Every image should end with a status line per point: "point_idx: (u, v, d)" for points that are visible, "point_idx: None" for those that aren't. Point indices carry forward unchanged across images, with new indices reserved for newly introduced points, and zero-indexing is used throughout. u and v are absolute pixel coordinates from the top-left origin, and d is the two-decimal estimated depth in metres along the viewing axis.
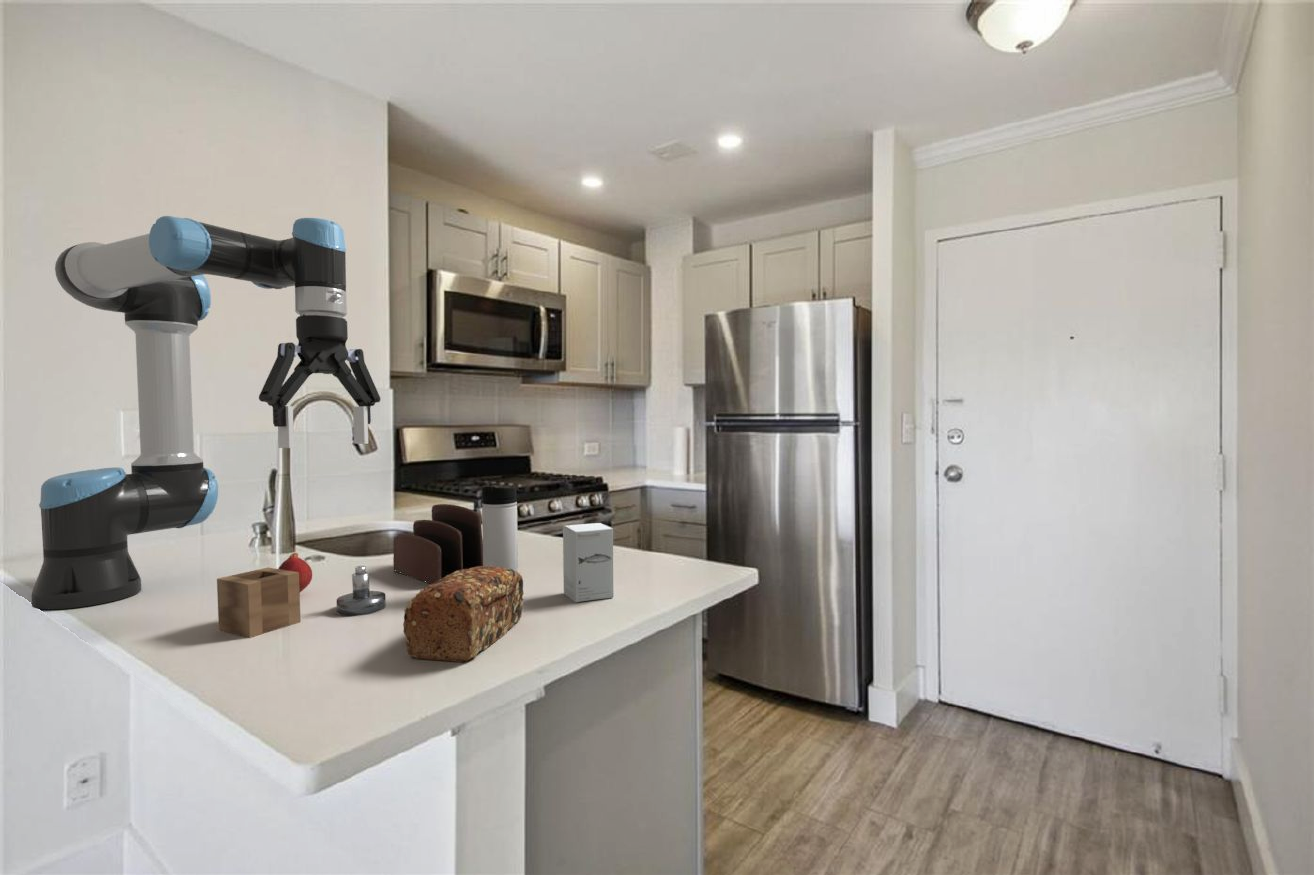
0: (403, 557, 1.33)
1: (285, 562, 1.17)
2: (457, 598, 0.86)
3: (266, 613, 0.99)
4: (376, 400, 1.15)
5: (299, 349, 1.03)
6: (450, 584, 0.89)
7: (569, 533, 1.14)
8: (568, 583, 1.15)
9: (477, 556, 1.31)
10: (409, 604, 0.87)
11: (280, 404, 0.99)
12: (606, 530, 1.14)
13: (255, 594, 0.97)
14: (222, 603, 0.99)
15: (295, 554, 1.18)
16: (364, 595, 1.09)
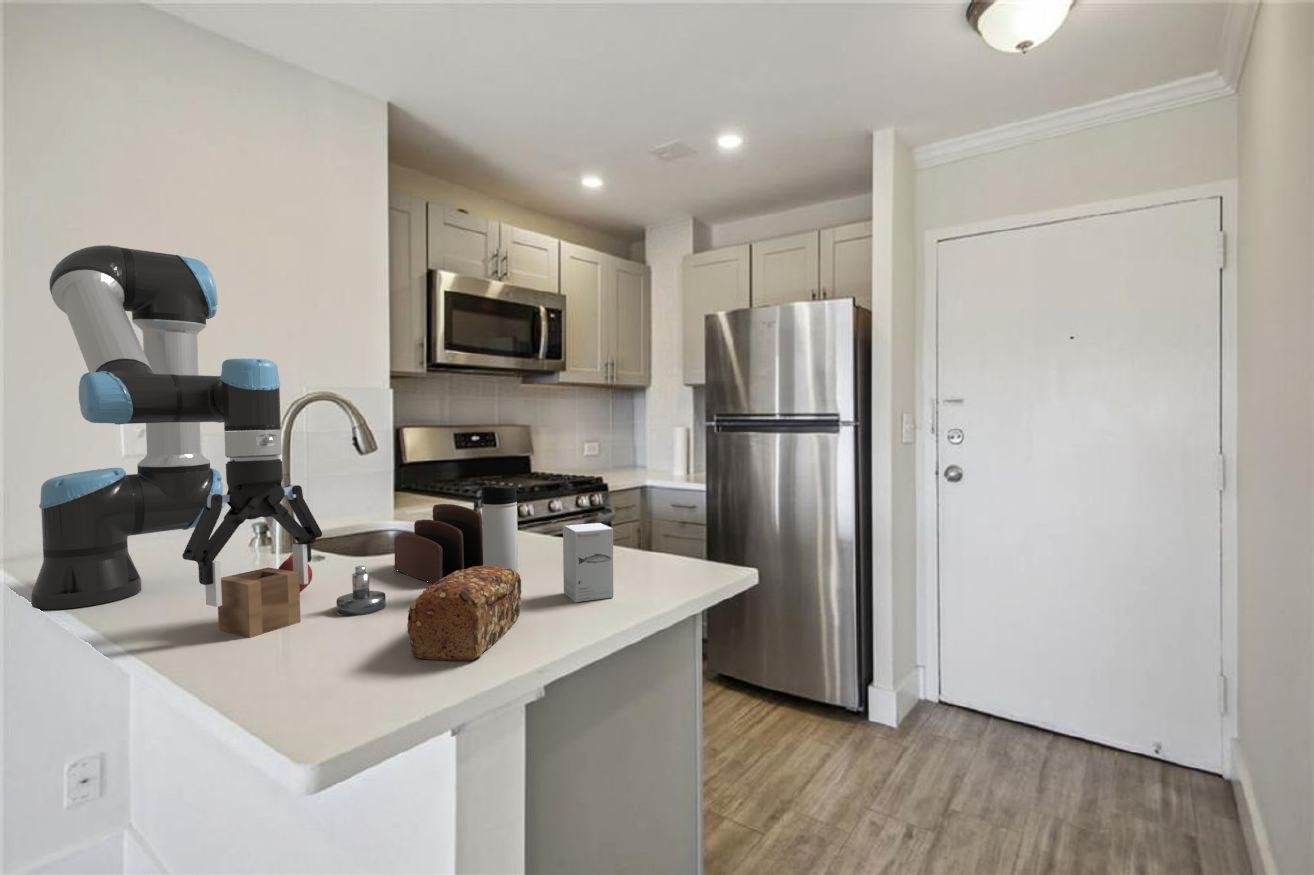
0: (405, 557, 1.34)
1: (285, 562, 1.17)
2: (463, 597, 0.86)
3: (266, 613, 0.99)
4: (317, 535, 1.09)
5: (228, 498, 0.97)
6: (454, 584, 0.89)
7: (569, 533, 1.14)
8: (568, 583, 1.15)
9: (478, 556, 1.31)
10: (413, 605, 0.87)
11: (206, 562, 0.94)
12: (606, 530, 1.14)
13: (255, 594, 0.97)
14: (222, 603, 0.99)
15: None
16: (364, 595, 1.09)
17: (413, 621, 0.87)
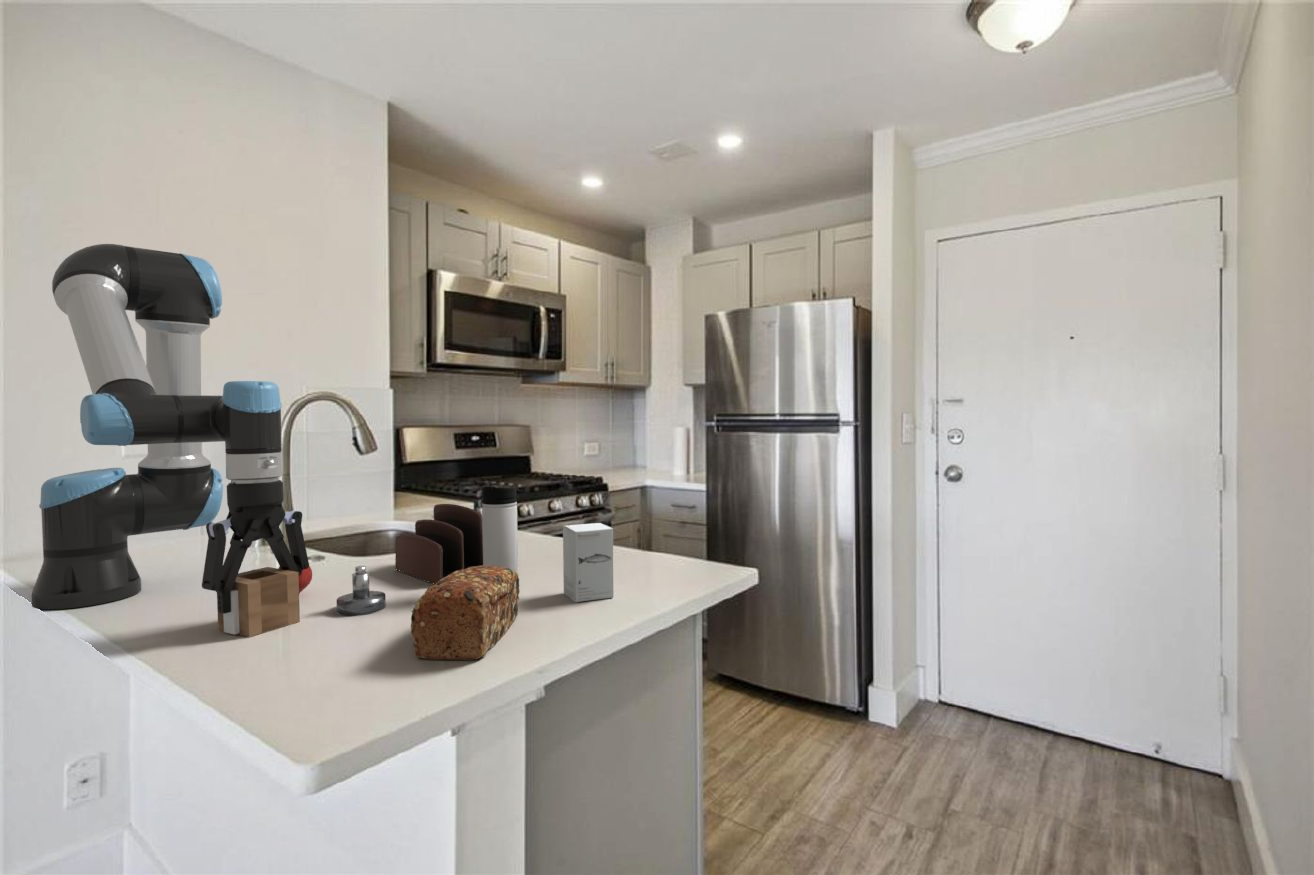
0: (405, 557, 1.34)
1: None
2: (468, 597, 0.86)
3: (265, 613, 0.99)
4: (303, 567, 1.07)
5: (229, 523, 0.97)
6: (457, 584, 0.89)
7: (569, 533, 1.14)
8: (568, 583, 1.15)
9: (478, 555, 1.31)
10: (417, 605, 0.87)
11: (225, 591, 0.96)
12: (606, 530, 1.14)
13: (254, 594, 0.97)
14: None
15: None
16: (364, 595, 1.09)
17: (417, 621, 0.86)
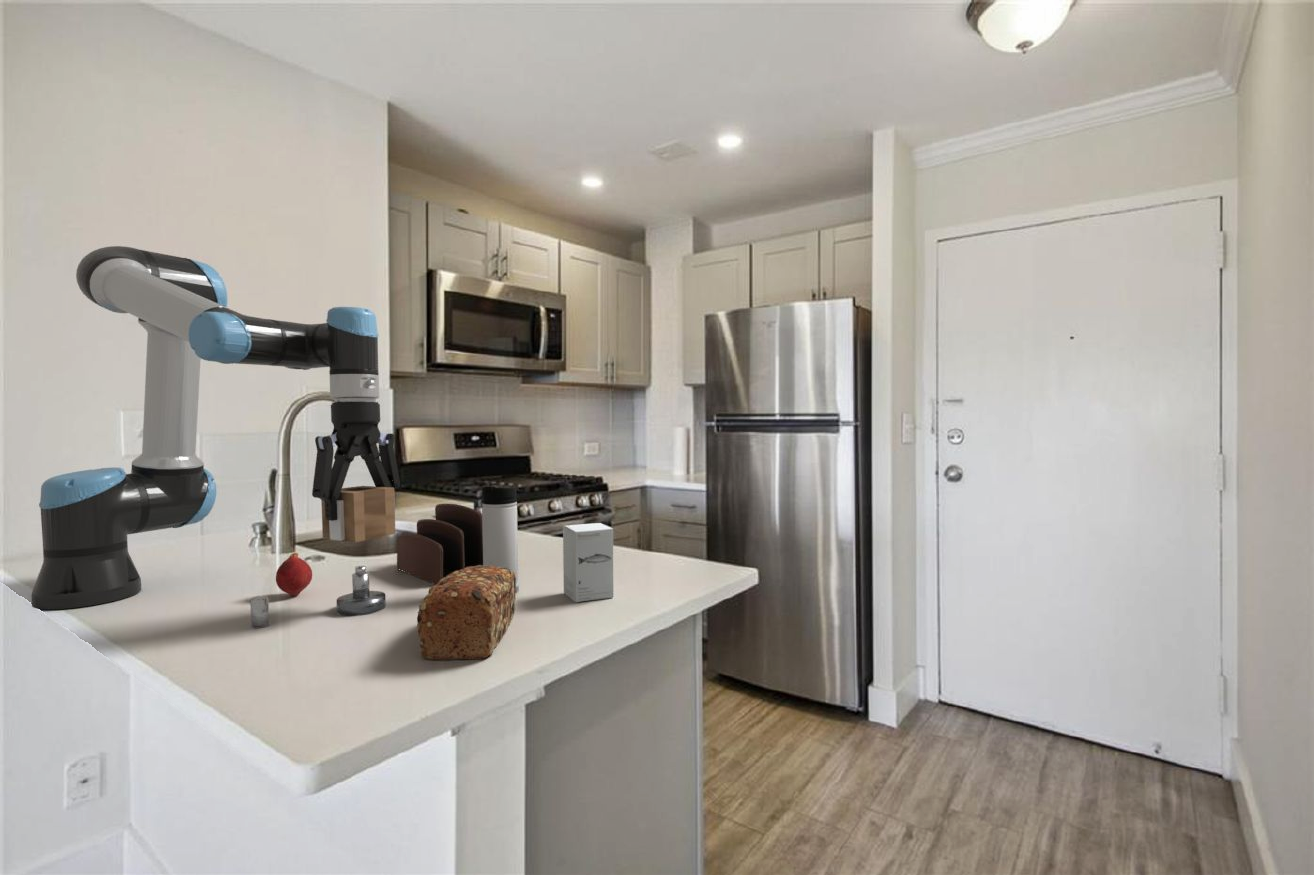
0: (407, 556, 1.34)
1: (285, 562, 1.17)
2: (476, 596, 0.86)
3: (367, 521, 1.07)
4: (396, 486, 1.15)
5: (335, 438, 1.05)
6: (463, 583, 0.89)
7: (569, 533, 1.14)
8: (568, 583, 1.15)
9: (479, 555, 1.31)
10: (423, 605, 0.86)
11: (333, 500, 1.04)
12: (606, 530, 1.14)
13: (359, 503, 1.05)
14: None
15: (295, 554, 1.18)
16: (364, 595, 1.09)
17: (423, 622, 0.86)
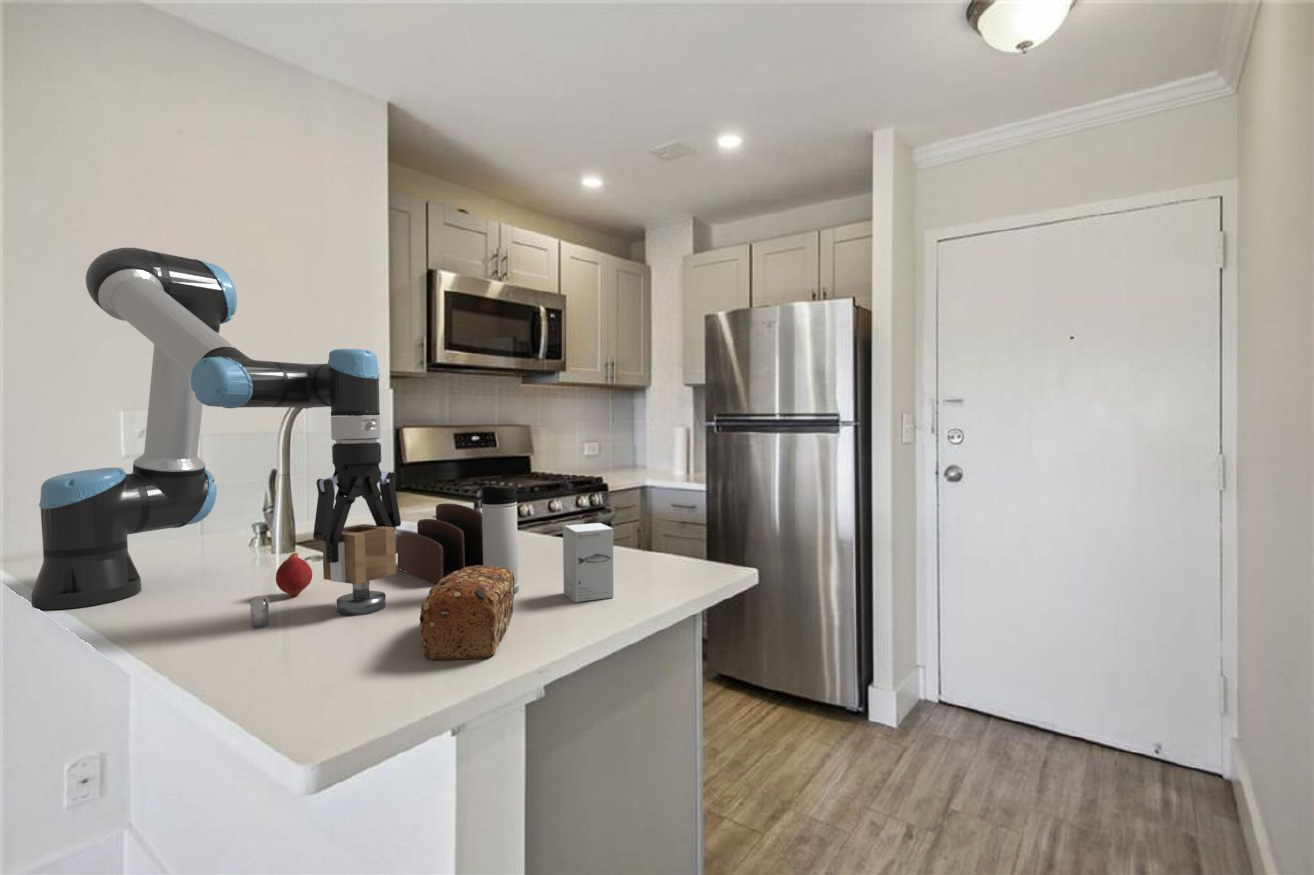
0: (407, 556, 1.35)
1: (285, 562, 1.17)
2: (480, 595, 0.87)
3: (368, 563, 1.07)
4: (396, 524, 1.15)
5: (336, 480, 1.05)
6: (465, 583, 0.89)
7: (569, 533, 1.14)
8: (568, 583, 1.15)
9: (479, 555, 1.31)
10: (426, 605, 0.86)
11: (334, 542, 1.04)
12: (606, 530, 1.14)
13: (360, 545, 1.05)
14: None
15: (295, 554, 1.18)
16: (364, 595, 1.09)
17: (426, 622, 0.86)
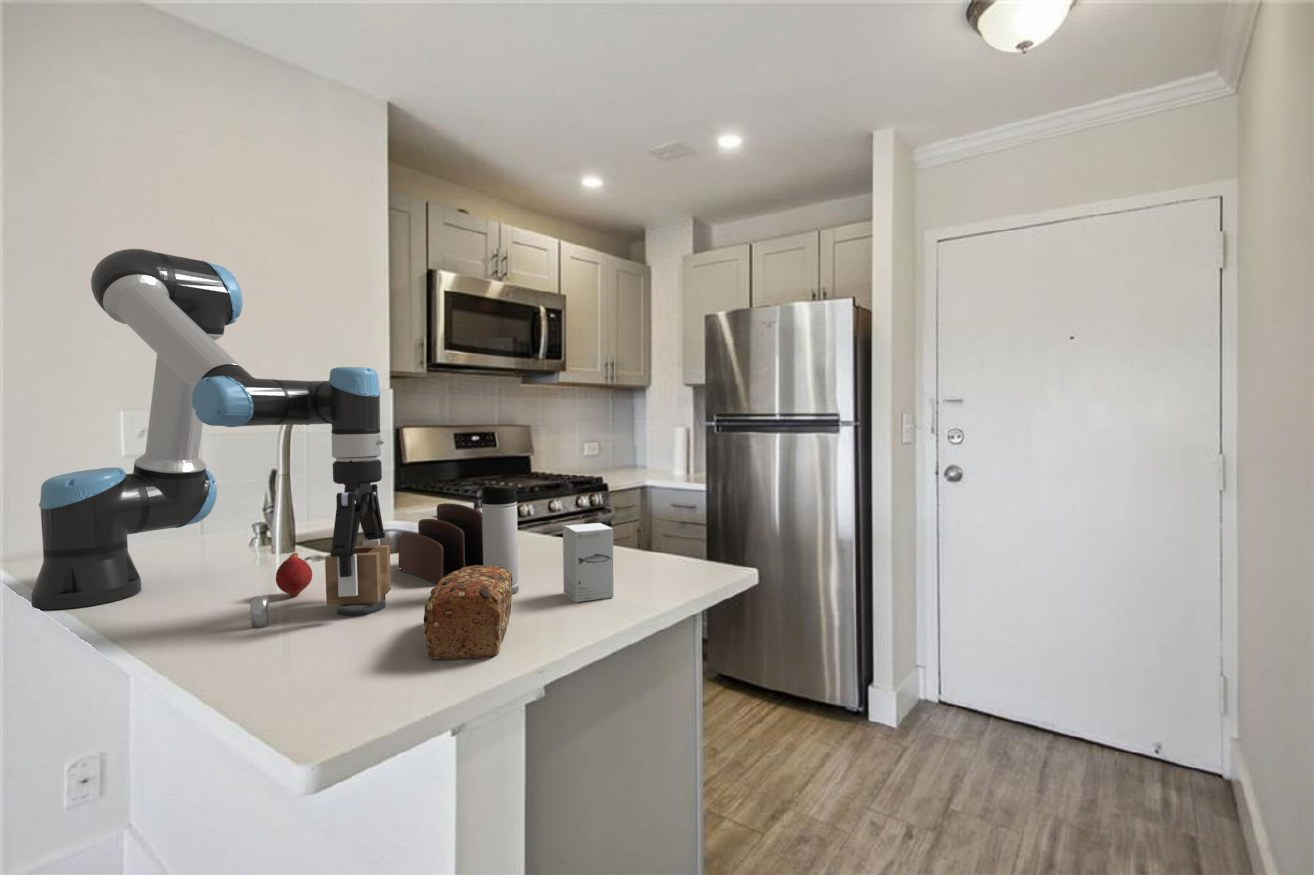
0: (408, 556, 1.35)
1: (285, 562, 1.17)
2: (484, 595, 0.87)
3: (381, 581, 1.09)
4: (381, 531, 1.19)
5: None
6: (468, 583, 0.89)
7: (569, 533, 1.14)
8: (568, 583, 1.15)
9: (480, 555, 1.32)
10: (430, 606, 0.86)
11: (350, 555, 1.02)
12: (606, 530, 1.14)
13: (378, 563, 1.08)
14: (334, 579, 1.06)
15: (295, 554, 1.18)
16: None
17: (430, 622, 0.86)
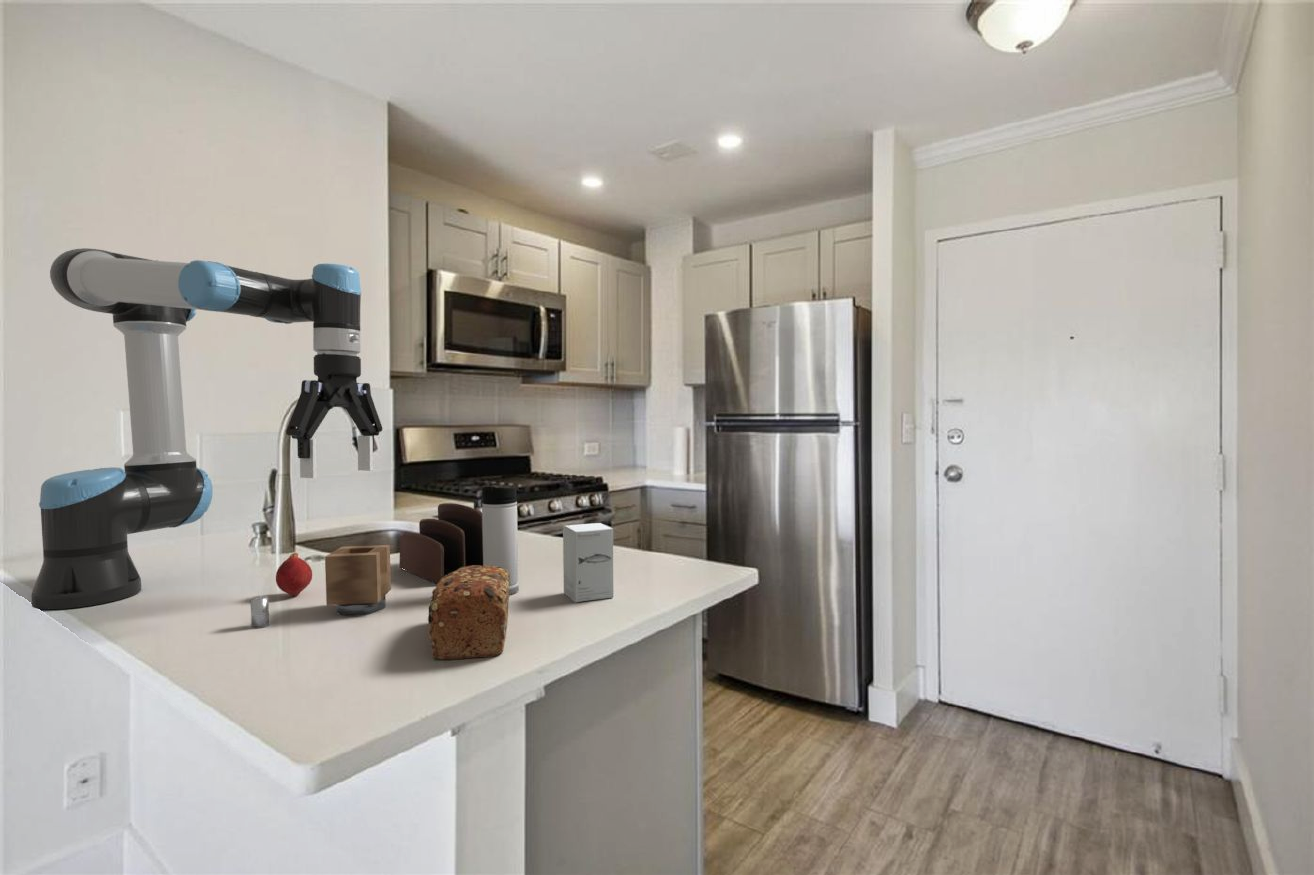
0: (409, 555, 1.35)
1: (285, 562, 1.17)
2: (489, 594, 0.87)
3: (381, 581, 1.09)
4: (379, 430, 1.24)
5: (320, 386, 1.10)
6: (472, 582, 0.90)
7: (569, 533, 1.14)
8: (568, 583, 1.15)
9: (480, 555, 1.32)
10: (434, 606, 0.86)
11: (306, 438, 1.07)
12: (606, 530, 1.14)
13: (378, 563, 1.08)
14: (334, 579, 1.06)
15: (295, 554, 1.18)
16: None
17: (435, 622, 0.86)
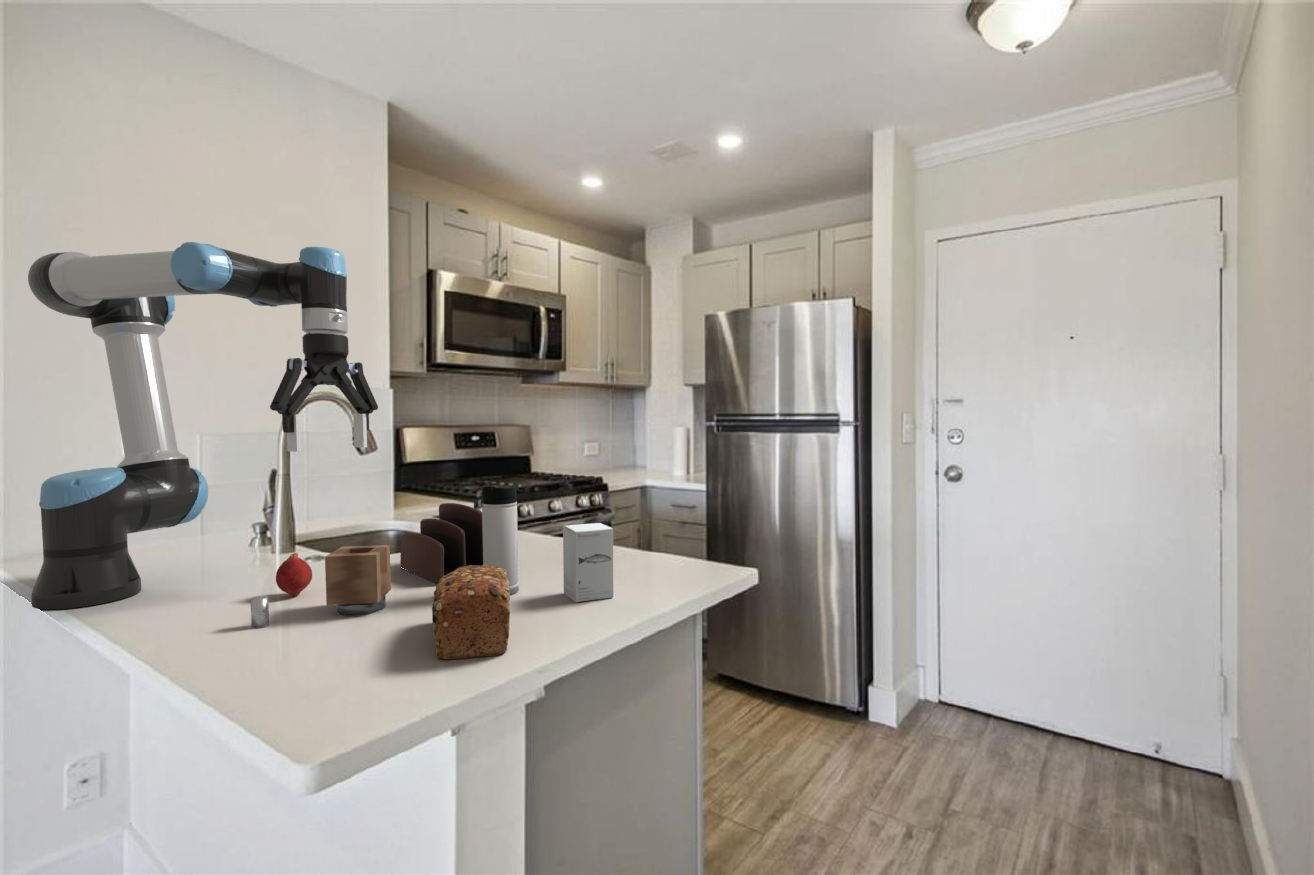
0: (410, 555, 1.35)
1: (285, 562, 1.17)
2: (494, 593, 0.88)
3: (381, 581, 1.09)
4: (374, 408, 1.28)
5: (305, 363, 1.15)
6: (475, 582, 0.90)
7: (569, 533, 1.14)
8: (568, 583, 1.15)
9: (481, 555, 1.32)
10: (439, 606, 0.86)
11: (289, 413, 1.12)
12: (606, 530, 1.14)
13: (378, 563, 1.08)
14: (334, 579, 1.06)
15: (295, 554, 1.18)
16: None
17: (440, 622, 0.86)
